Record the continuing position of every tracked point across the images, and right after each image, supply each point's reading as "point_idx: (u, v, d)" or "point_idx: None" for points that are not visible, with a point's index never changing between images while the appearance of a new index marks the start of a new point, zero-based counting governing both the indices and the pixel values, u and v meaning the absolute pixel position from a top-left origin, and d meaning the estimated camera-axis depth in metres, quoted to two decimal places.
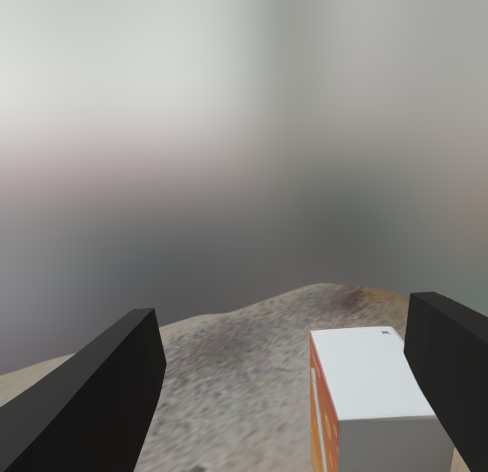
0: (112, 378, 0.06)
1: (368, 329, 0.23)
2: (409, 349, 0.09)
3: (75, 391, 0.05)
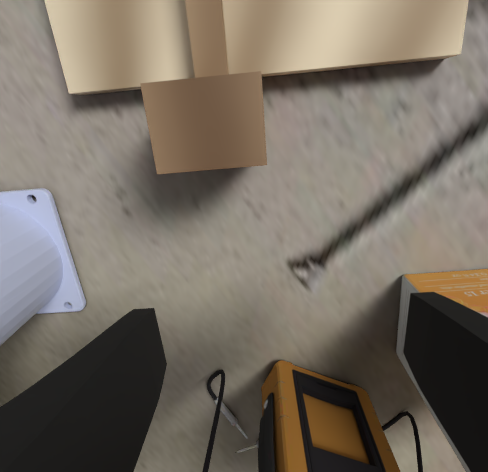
0: (112, 378, 0.06)
1: None
2: (409, 349, 0.09)
3: (75, 391, 0.05)
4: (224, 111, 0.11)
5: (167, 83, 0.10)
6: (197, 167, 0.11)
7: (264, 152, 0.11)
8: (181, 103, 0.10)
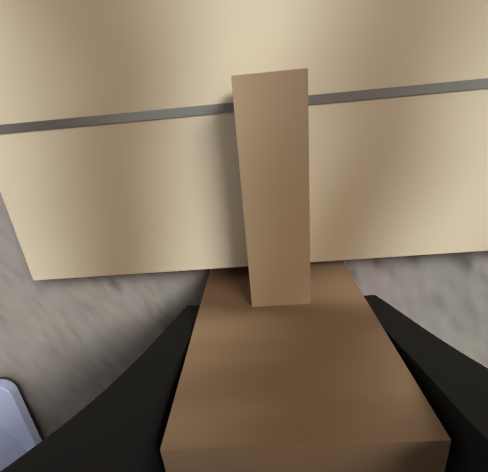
0: None
1: None
2: None
3: (160, 387, 0.05)
4: None
5: (223, 450, 0.04)
6: None
7: None
8: None
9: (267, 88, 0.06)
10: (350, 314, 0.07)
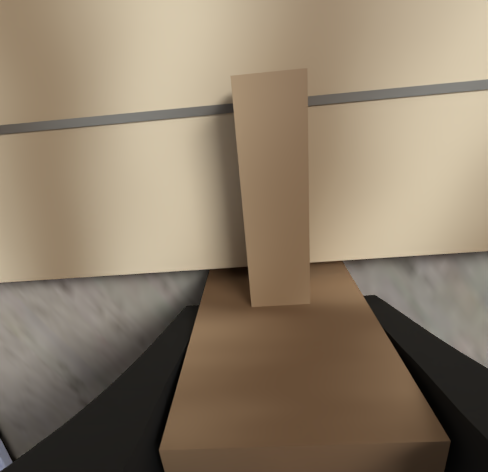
0: None
1: None
2: None
3: (160, 387, 0.05)
4: None
5: (222, 450, 0.04)
6: None
7: None
8: None
9: (267, 88, 0.06)
10: (350, 314, 0.07)
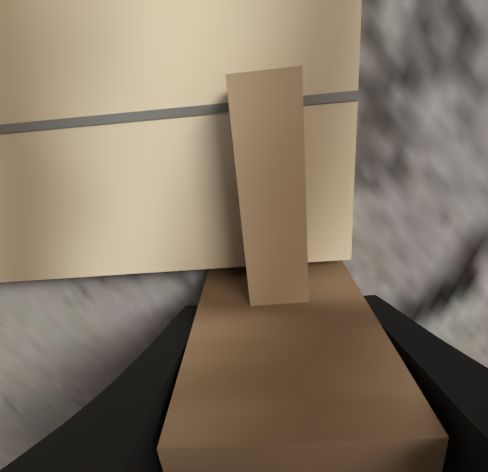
0: None
1: None
2: None
3: (159, 387, 0.05)
4: None
5: (220, 449, 0.04)
6: None
7: None
8: None
9: (262, 86, 0.06)
10: (348, 312, 0.07)
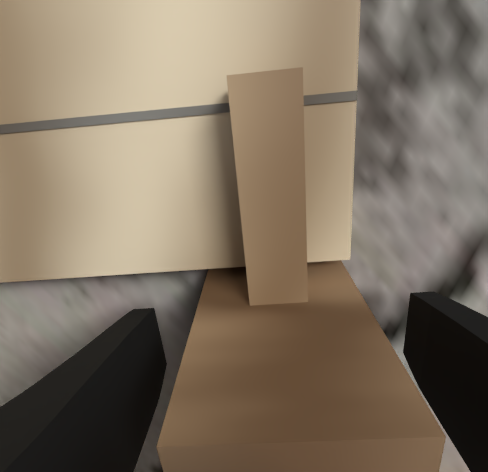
0: (112, 378, 0.06)
1: None
2: (409, 349, 0.09)
3: (75, 391, 0.05)
4: None
5: (219, 447, 0.04)
6: None
7: None
8: None
9: (262, 87, 0.06)
10: (347, 312, 0.07)
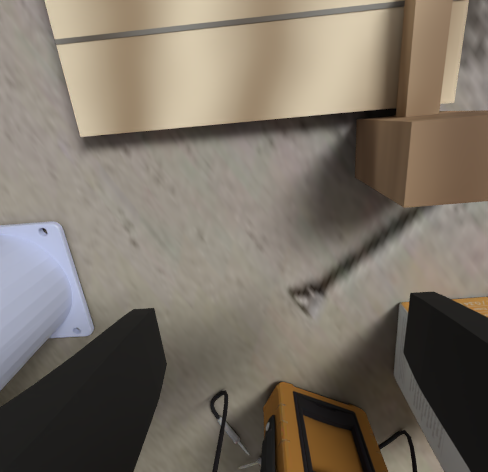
0: (112, 378, 0.06)
1: None
2: (409, 349, 0.09)
3: (75, 391, 0.05)
4: None
5: (438, 121, 0.10)
6: (446, 201, 0.11)
7: None
8: (447, 140, 0.11)
9: None
10: (465, 112, 0.13)
